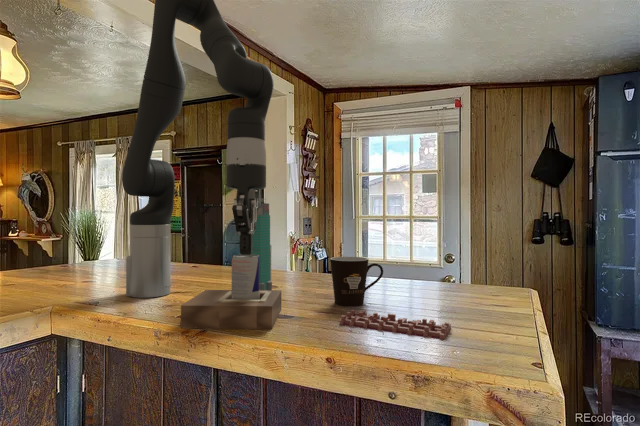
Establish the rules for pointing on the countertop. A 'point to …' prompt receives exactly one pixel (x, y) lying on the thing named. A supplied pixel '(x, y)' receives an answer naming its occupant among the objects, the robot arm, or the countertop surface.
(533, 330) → the countertop surface
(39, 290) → the countertop surface
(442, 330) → the chocolate bar
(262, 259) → the building
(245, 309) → the holder board
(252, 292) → the energy drink
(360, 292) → the coffee mug
